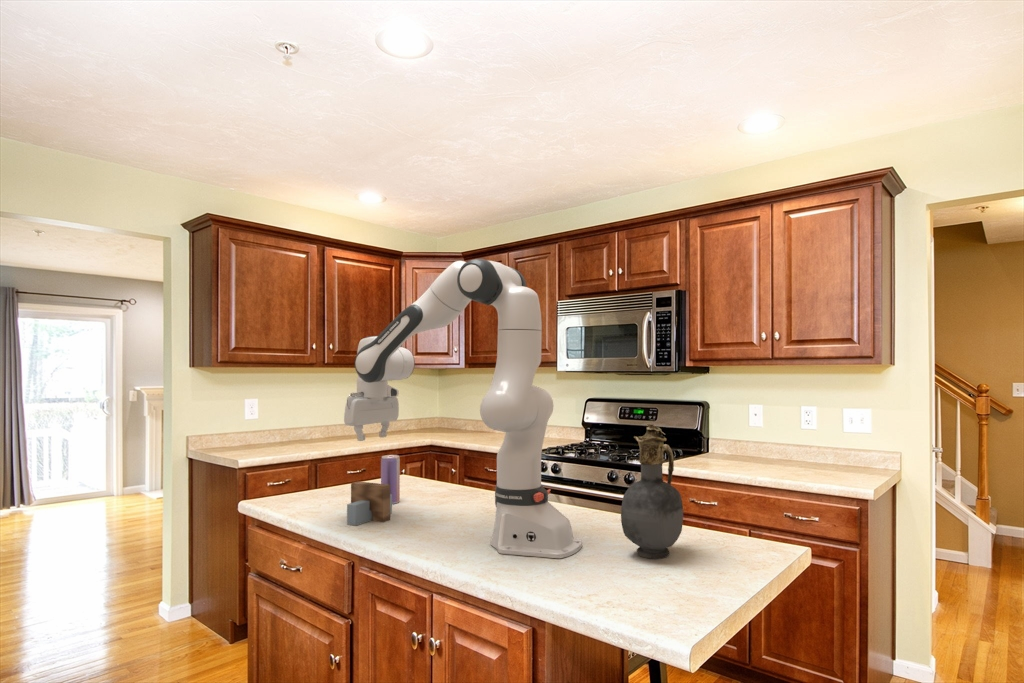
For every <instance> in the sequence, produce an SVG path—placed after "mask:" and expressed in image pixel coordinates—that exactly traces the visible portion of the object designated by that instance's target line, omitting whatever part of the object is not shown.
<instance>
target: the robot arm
mask: <svg viewBox="0 0 1024 683" xmlns="http://www.w3.org/2000/svg"><path fill="white" fill-rule="evenodd" d="M471 301H473V302H477V303H481V304H483V305H486V306H493V307H494V308H495V310H496V312H497V319H498V320H497V321H498V322H497V350H496V351H497V353H496V363H495V368H494V373H493V377H492V380H491V383H490V386H489V389H488V391H487V392H486V394H485V395H484V396H483V398H482V399H481V402H480V405H479V413H480V417H481V420H482V422H483V423H484V425H486V427H487V428H489V429H491V430H493V431H498V432H503V433H504V437H503V442H502V444H501V446H500V447H499V450H498V451H497V454H496V485H495V488H494V490H495V491H494V504H495V520H494V526H493V530H492V531H493V532H492V536H491V540H490V545H491V547H493V548H495V549H496V550H497V552H498V553H499V554H501V555H502V554H503V555H516V556H525V557H538V558H551V559H562V558H567V557H570V556H572V555H574V554H576V553H577V552H579V551H580V550H581V549H582V546H583V543H582V540H581V539H580V538H577V537H576V538H575V537H574V536H573V535H574V534H573V529H572V528H573V527H572V524H571V521H570V520H569V518H568V517H567V516H566V515H564V514H563V513H562V512H561V511H559V509H557V508H556V507H555V506H554V505H553V504H552V503H550V502H549V495H550V494H551V490H552V489H551V488H549V489H545V487H544V486H543V485H542V454H543V452H542V451H543V445H544V439H545V436H546V431H547V425H548V423H549V420H550V418H551V416H552V414H553V411H554V400H553V397H552V396H551V394H550V393H549V392H548V391H547V390H545V389H543V388H541V387H539V386H536V385H533V382H534V378H535V375H536V372H537V370H538V368H539V366H540V365H541V364H542V332H543V331H542V329H543V327H542V325H543V323H542V322H543V321H542V312H541V311H542V310H541V303H540V300H539V295H538V293H537V292H536V291H535V290H534V289H532V288H530V287H527V282H526V279H525V277H524V275H523V274H522V273H521V272H520V271H519V270H517V269H515V268H514V267H511V266H507V265H504V264H503V263H501V262H499V261H495V260H494V261H493V260H488V259H484V258H474V259H470V260H467V261H464V260H456V261H454V262H452V263H451V264H450V265H449V266H447V267H446V268H445V269H444V270H443V271H442V272H441V273H440V274H439V275H438V276H437V278H435V279H434V281H433V282H432V283H431V285H430V286H429V287H428V288H427V289H426V291H424V292H423V294H422V295H421V296H420V297H419V298H417V299H416V300H415V301H414V302H413V303H411V304H410V305H409V306H407V307H406V308H405V309H403V310H402V311H401V312H400V313H398V315H397V316H396V317H395V318H394V319H393V320H392V321H391V322H390V323H389V324H388V325H387V326H386V327H385V328H384V329H383V330H382V331H381V332H380V333H379V334H378V335H371V336H365V337H364V338H362V339H360V341H359V343H358V345H357V350H356V356H355V359H354V369H355V372H356V374H357V379H356V392H351V393H350V394H349V395H348V396H347V398H346V403H345V405H344V406H345V407H344V414H343V415H344V416H343V418H344V419H343V422H344V424H345V426H346V427H347V426H348V427H353V430H354V431H355V435H356V440H357V442H363V441H366V434H364V432H363V429H364V425H372V424H379V423H380V426H381V429H380V430H379V431H378V437H379V438H386V437H387V434H388V433H387V432H388V430H389V427H390V422H395V421H397V420H398V418H399V409H400V406H399V399H398V397H399V394H400V393H399V390H398V389H397V388H395V387H393V386H391V385H389V384H388V382H390V381H391V382H392V381H403V380H406V379H408V378H409V377H411V376H412V374H413V372H414V370H415V366H416V360H415V357H414V354H413V353H412V352H411V350H409V349H408V348H406V347H402V345H403V344H404V343H406V341H407V340H408V339H410V338H411V337H413V336H414V335H417V334H418V333H422V332H425V331H430V330H431V331H432V330H434V329H442V328H445V327H447V326H448V325H450V324H452V323H453V322H454V321H455V320H456V319H458V317H459V316H460V315H461V314H462V312H463V311H465V309H466V308H467V306H468V305H469V304H470V303H471Z"/></svg>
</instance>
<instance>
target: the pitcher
mask: <svg viewBox="0 0 1024 683" xmlns="http://www.w3.org/2000/svg"><path fill="white" fill-rule="evenodd" d="M645 427H646V432H645V434H643V435H642V436H641V435H640V436H635V435H634V436H633V438H634V439H635V441H637V443H638V446H639V464H640V480H638V481H636V482H634V483H632V484H631V485H630V486H629V487H628V488H627V490H625V492H624V494H623V497H622V502H621V506H620V507H621V509H620V521H621V527H622V532H623V534H624V536H625V537H626V539H628V540H629V541H630V542H631V543H632V544H635V545H636V546H637V547H638V548H636V554H637V555H638V556H640V557H642V558H645V559H650V560H651V559H652V560H653V559H654V560H657V559H664V558H667V557H668V556H669V555H670V550H669V548H670V547H673V546H674V545H675V543H676V542H677V541H678V539H679V538H680V535H682V534H681V533H682V530H683V524H684V522H683V521H684V504H683V500H682V495H681V493H680V491H678V489H676V487H674V486H673V485H671V484H672V480H673V473H674V470H675V469H674V466H675V465H674V462H675V461H674V454H673V450H672V448H671V447H670V445H669V444H666V443H665V444H664V442H666V441H667V438H666V437H665V436H666V433H664V432H663V431H662V428H660V427H659V426H656V425H655V424H652V423H647V425H645ZM665 452H666V454H667V457H668V466H667V467H668V468H667V474H668V475H667V480H666V481H664V480H663V464H664V453H665Z"/></svg>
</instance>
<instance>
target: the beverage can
mask: <svg viewBox="0 0 1024 683" xmlns="http://www.w3.org/2000/svg"><path fill="white" fill-rule="evenodd" d="M400 462H401V459H400V455H397V454H387V455H382V456H381V458H380V484H388V485H390V494H392V505H396V504H399V502H400V499H401V498H400V497H401V496H400V492H401V490H400V486H401V481H400V480H401V478H400V476H401V472H400V471H401V470H400V469H401V468H400V467H401V466H400V464H401V463H400Z"/></svg>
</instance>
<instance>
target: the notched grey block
mask: <svg viewBox="0 0 1024 683" xmlns="http://www.w3.org/2000/svg"><path fill="white" fill-rule="evenodd" d="M346 504H347V505H346V525H348V526H359V525H361V524H365V523H367V522H370V521H373V511H370V501H364V500H360V501H357V502H353V503H351V502H350V503H346ZM391 514H393V504H392V494H390V515H391Z"/></svg>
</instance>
